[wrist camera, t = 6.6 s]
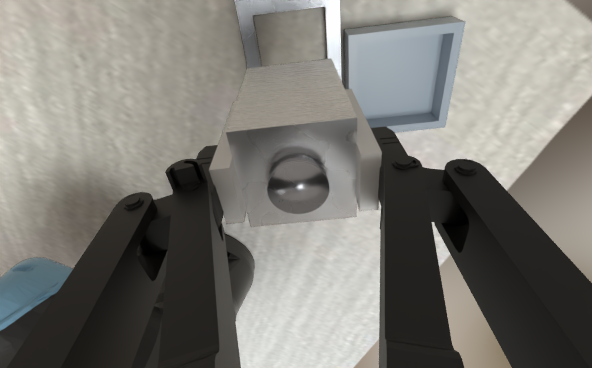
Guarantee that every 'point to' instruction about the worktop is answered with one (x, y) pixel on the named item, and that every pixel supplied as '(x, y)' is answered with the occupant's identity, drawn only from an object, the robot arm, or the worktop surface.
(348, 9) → the worktop surface
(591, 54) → the worktop surface
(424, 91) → the tray
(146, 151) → the worktop surface
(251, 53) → the grey slotted plate
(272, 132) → the knobbed metal block
